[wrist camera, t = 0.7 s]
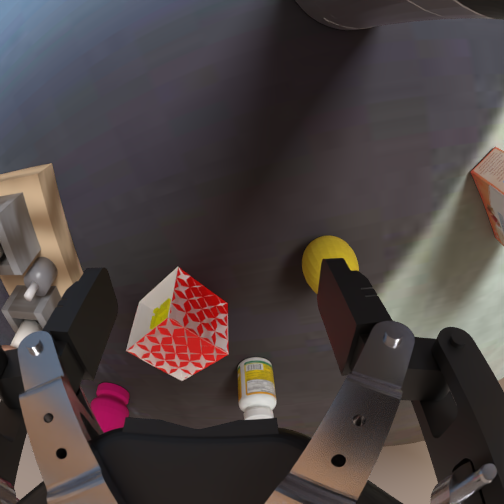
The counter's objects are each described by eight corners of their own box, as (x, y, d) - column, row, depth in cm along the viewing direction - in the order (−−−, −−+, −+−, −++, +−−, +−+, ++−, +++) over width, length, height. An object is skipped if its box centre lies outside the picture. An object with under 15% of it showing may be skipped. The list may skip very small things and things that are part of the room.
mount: (-20, 179, 25) (-57, 209, 19) (51, 163, 26) (12, 194, 20) (36, 315, 38) (17, 353, 31) (101, 318, 38) (86, 362, 32)
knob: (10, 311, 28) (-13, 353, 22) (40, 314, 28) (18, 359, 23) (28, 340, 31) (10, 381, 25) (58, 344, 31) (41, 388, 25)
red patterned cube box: (178, 266, 34) (168, 317, 28) (227, 302, 38) (228, 354, 31) (138, 301, 37) (125, 351, 30) (186, 332, 40) (181, 381, 34)
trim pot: (31, 256, 28) (11, 285, 24) (52, 256, 29) (32, 285, 24) (40, 279, 30) (23, 308, 26) (61, 279, 30) (44, 309, 26)
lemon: (296, 267, 35) (311, 318, 29) (294, 225, 32) (311, 273, 26) (343, 260, 35) (366, 308, 29) (345, 218, 32) (372, 263, 25)
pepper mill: (114, 378, 47) (94, 483, 30) (139, 397, 51) (127, 495, 34) (88, 383, 48) (67, 478, 31) (113, 402, 52) (98, 492, 35)
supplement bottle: (254, 351, 44) (260, 409, 36) (279, 364, 46) (287, 418, 38) (229, 367, 45) (231, 422, 38) (254, 378, 48) (258, 430, 40)
